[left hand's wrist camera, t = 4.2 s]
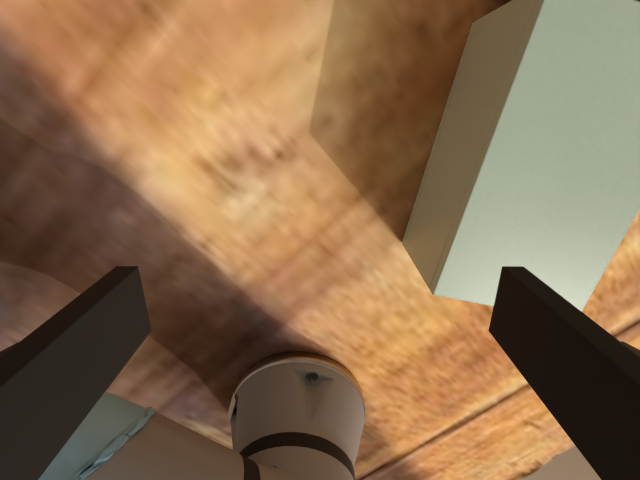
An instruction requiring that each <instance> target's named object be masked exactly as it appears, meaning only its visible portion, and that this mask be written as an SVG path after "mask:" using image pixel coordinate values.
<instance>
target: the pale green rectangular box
mask: <svg viewBox="0 0 640 480" xmlns="http://www.w3.org/2000/svg"><path fill="white" fill-rule="evenodd" d="M639 209H640V1H636V0H512V1H510V2H508V3H507V4H505V5H503V6H501V7H499V8H498V9H496V10H494V11H492V12H490V13H489V14H487V15H485V16H483V17H481V18H480V19H478V20H476V21H474V22H472V25H471V28H470V31H469V34H468V37H467V40H466V43H465V47H464V50H463V53H462V56H461V59H460V62H459V65H458V68H457V72H456V75H455V78H454V81H453V84H452V87H451V90H450V93H449V97H448V100H447V103H446V106H445V109H444V112H443V115H442V118H441V122H440V125H439V128H438V131H437V134H436V137H435V140H434V143H433V147H432V150H431V153H430V156H429V159H428V162H427V165H426V168H425V172H424V175H423V178H422V181H421V184H420V187H419V190H418V193H417V197H416V200H415V203H414V206H413V209H412V212H411V215H410V218H409V222H408V225H407V228H406V231H405V234H404V237H403V240H402V244H403V246H404V248H405V249H406V251H407V253H408V254H409V256H410V258H411V259H412V261H413V263H414V264H415V266H416V267H417V269H418V271H419V272H420V274H421V276H422V277H423V279H424V281H425V282H426V284H427V286H428V287H429V289H430V291H431V292H432V294H433V295H436V296H442V297H447V298H452V299H457V300H462V301H468V302H473V303H478V304H483V305H488V306H494V303H495V298H496V293H497V289H498V284H499V279H500V274H501V269H502V266H523V267H525V268H526V269H527V270H529V271H530V272H531V273H532V274H534V275H535V276H536V277H538V278H539V279H540V280H541V281H543V282H544V283H545V284H547V285H548V286H549V287H550V288H552V289H553V290H554V291H556V292H557V293H558V294H559V295H561V296H562V297H563V298H564V299H566V300H567V301H568V302H570V303H571V304H572V305H573V306H575V307H576V308H577V309H579V310H580V311H581V312H582V310H583V309H584V307H585V305H586V303H587V301H588V300H589V298H590V296H591V294H592V293H593V291H594V289H595V287H596V285H597V284H598V282H599V280H600V278H601V277H602V275H603V273H604V271H605V269H606V268H607V266H608V264H609V262H610V261H611V259H612V257H613V255H614V254H615V252H616V250H617V248H618V246H619V245H620V243H621V241H622V239H623V238H624V236H625V234H626V232H627V230H628V229H629V227H630V225H631V223H632V222H633V220H634V218H635V216H636V214H637V213H638V211H639Z"/></svg>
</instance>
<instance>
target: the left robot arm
mask: <svg viewBox="0 0 640 480" xmlns="http://www.w3.org/2000/svg"><path fill="white" fill-rule="evenodd" d="M150 332H151V327H150V322H149V317H148V313H147V308H146V303H145V298H144V293H143V289H142V284H141V279H140V274H139V269H138V266H117V267H115V268H114V269H113V270H111V271H110V272H109V273H108V274H106V275H105V276H104V277H102V278H101V279H100V280H99V281H97V282H96V283H95V284H93V285H92V286H91V287H90V288H88V289H87V290H86V291H84V292H83V293H82V294H81V295H79V296H78V297H77V298H76V299H74V300H73V301H72V302H70V303H69V304H68V305H67V306H65V307H64V308H63V309H61V310H60V311H59V312H58V313H56V314H55V315H54V316H52V317H51V318H50V319H49V320H47V321H46V322H45V323H43V324H42V325H41V326H40V327H38V328H37V329H36V330H35V331H33V332H32V333H31V334H29V335H28V336H27V337H26V338H24V339H23V340H22V341H20V342H19V343H16V344H14V345H12V346H10V347H8V348H6V349H5V350H3V351H1V352H0V480H355V475H354V465H355V461H356V457H357V452H358V448H359V443H360V439H361V433H362V431H363V427H364V420H365V407H364V400H363V394H362V391H361V388H360V386H359V384H358V382H357V381H356V379H355V378H354V376H353V375H352V374H351V373H350V372H349V371H348V370H347V369H346V368H344V367H343V366H342V365H340V364H339V363H337V362H335V361H333V360H331V359H329V358H326V357H323V356H320V355H317V354H312V353H304V352H290V353H282V354H278V355H274V356H271V357H268V358H266V359H263V360H261V361H260V362H258V363H256V364H255V365H253V366H252V367H251V368H249V369H248V370H247V371H246V372H245V373H244V374H243V376H242V377H241V378H240V380H239V382H238V384H237V386H236V389H235V392H233V396H232V400H231V403H230V407H229V410H228V414H227V417H228V421H229V423H230V419H231V431H232V442H233V450H231V449H229V448H227V447H225V446H223V445H221V444H219V443H217V442H215V441H213V440H211V439H209V438H207V437H205V436H203V435H201V434H199V433H197V432H195V431H193V430H191V429H189V428H187V427H185V426H183V425H181V424H179V423H177V422H175V421H173V420H171V419H169V418H167V417H165V416H163V415H161V414H159V413H157V412H156V410H155V409H153V408H152V407H147V408H145V407H143V406H140V405H138V404H136V403H133V402H131V401H128V400H126V399H124V398H121V397H119V396H117V395H114V394H112V393H108V392H105V391H106V390H107V388H108V387H109V386H110V385H111V383H112V382H113V381H114V379H115V378H116V377H117V375H118V374H119V373H120V371H121V370H122V369H123V367H124V366H125V365H126V363H127V362H128V361H129V359H130V358H131V357H132V355H133V354H134V353H135V351H136V350H137V349H138V348H139V346H140V345H141V344H142V342H143V341H144V340H145V338H146V337H147V336H148V334H149V333H150ZM489 332H490V333H491V334H492V336H493V337H494V338H495V340H496V341H497V342H498V344H499V345H500V346H501V348H502V349H503V350H504V351H505V353H506V354H507V355H508V357H509V358H510V359H511V361H512V362H513V363H514V365H515V366H516V367H517V369H518V370H519V371H520V373H521V374H522V375H523V377H524V378H525V379H526V381H527V382H528V383H529V385H530V386H531V387H532V388H533V390H534V391H535V392H536V394H537V395H538V396H539V398H540V399H541V400H542V402H543V403H544V404H545V406H546V407H547V408H548V410H549V411H550V412H551V414H552V415H553V416H554V418H555V419H556V420H557V422H558V423H559V424H560V425H561V427H562V428H563V429H564V431H565V432H566V433H567V435H568V436H569V437H570V439H571V440H572V441H573V443H574V444H575V445H576V447H577V448H578V449H579V451H580V452H581V453H582V454H583V456H584V457H585V458H586V460H587V461H588V462H589V464H590V465H591V466H592V468H593V469H594V470H595V472H596V473H597V474H598V476H599V477H600V478H601V480H640V350H638V349H636V348H635V347H633V346H631V345H629V344H627V343H625V342H620V341H618V340H617V339H616V338H614V337H613V336H612V335H611V334H609V333H608V332H607V331H605V330H604V329H603V328H602V327H600V326H599V325H598V324H597V323H595V322H594V321H593V320H591V319H590V318H589V317H588V316H586V315H585V314H584V313H582V312H581V311H580V310H579V309H577V308H576V307H575V306H573V305H572V304H571V303H570V302H568V301H567V300H566V299H564V298H563V297H562V296H561V295H559V294H558V293H557V292H556V291H554V290H553V289H552V288H550V287H549V286H548V285H547V284H545V283H544V282H543V281H541V280H540V279H539V278H538V277H536V276H535V275H534V274H532V273H531V272H530V271H529V270H527V269H526V268H525V267H523V266H502V269H501V274H500V279H499V284H498V289H497V293H496V298H495V303H494V308H493V313H492V317H491V322H490V327H489Z"/></svg>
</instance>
